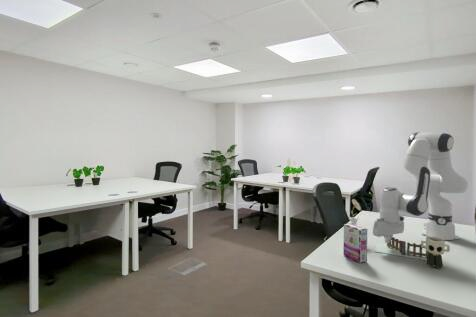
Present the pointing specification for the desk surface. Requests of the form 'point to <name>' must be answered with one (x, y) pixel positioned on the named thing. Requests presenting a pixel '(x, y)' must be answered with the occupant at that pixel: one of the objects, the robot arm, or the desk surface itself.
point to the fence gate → (395, 244)
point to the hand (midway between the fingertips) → (388, 242)
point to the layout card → (388, 250)
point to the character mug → (435, 251)
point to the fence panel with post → (413, 249)
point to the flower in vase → (358, 207)
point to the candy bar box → (355, 243)
